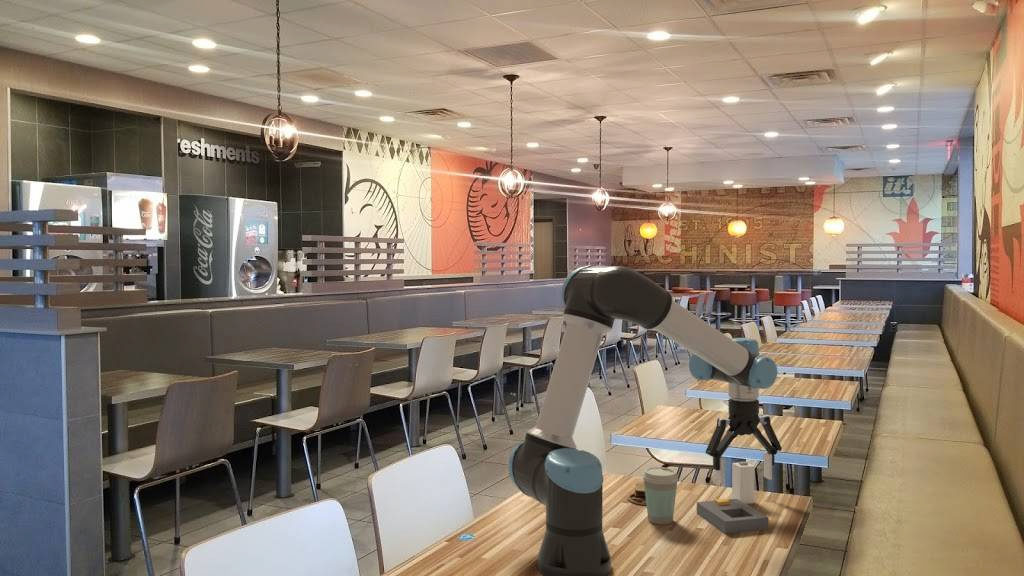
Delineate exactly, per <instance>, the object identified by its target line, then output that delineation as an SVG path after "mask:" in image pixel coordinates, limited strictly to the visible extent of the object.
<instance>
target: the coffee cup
mask: <svg viewBox="0 0 1024 576" xmlns="http://www.w3.org/2000/svg"><path fill="white" fill-rule="evenodd" d="M642 481H643V482H644V487H645V496H646V505H645V506H646V511H647V520H648V522H650V523H652V524H653V525H654V524H655V525H670V524H672V523H673V520H674V513H675V504H676V496H677V495H676V494H677V488H678V482H679V481H680V479H679V476H678V473H677V471H676V470H675V469H673V468H668V467H663V466H656V467H655V466H652V467H648V468H645V470H644V473H643V474H642Z"/></svg>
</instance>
